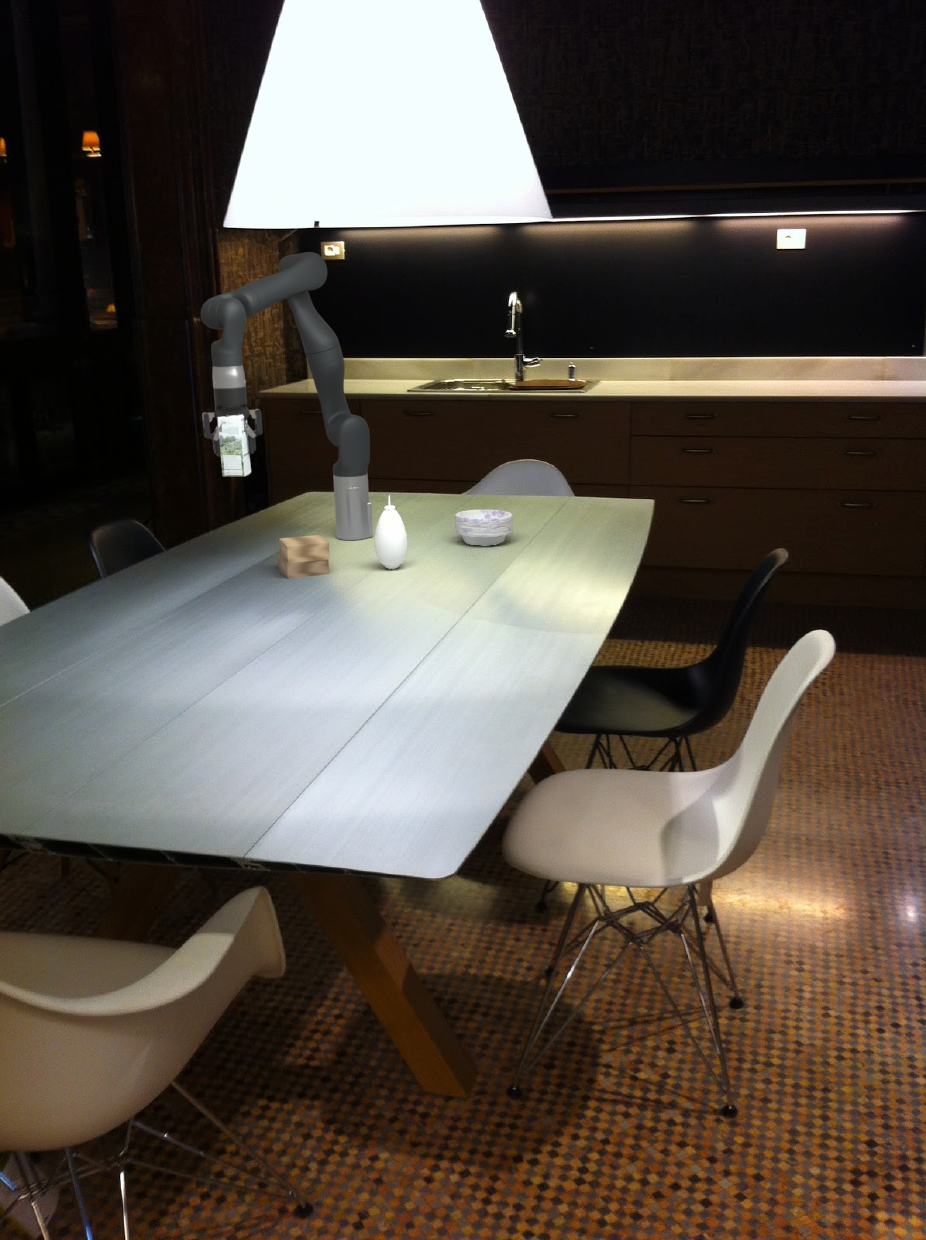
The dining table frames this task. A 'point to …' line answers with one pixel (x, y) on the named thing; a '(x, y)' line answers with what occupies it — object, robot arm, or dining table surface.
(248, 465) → the syrup box
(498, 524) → the paper bowls
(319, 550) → the tower top block
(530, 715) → the dining table surface
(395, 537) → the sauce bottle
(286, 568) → the tower base block
